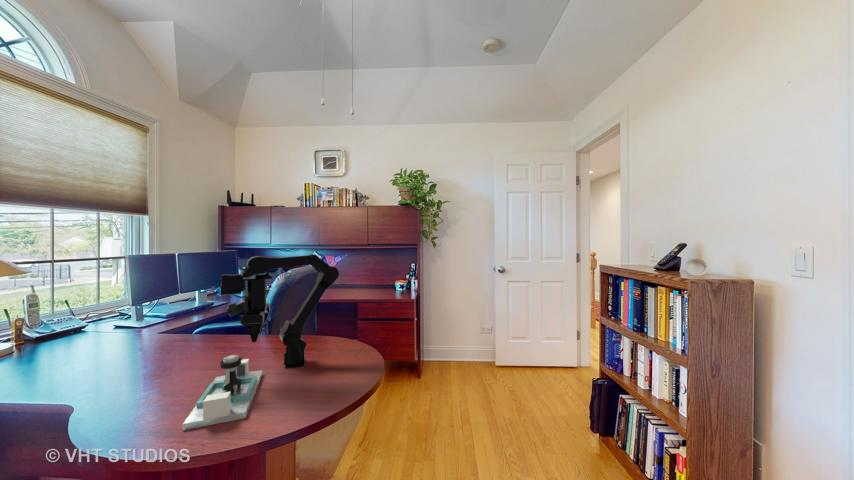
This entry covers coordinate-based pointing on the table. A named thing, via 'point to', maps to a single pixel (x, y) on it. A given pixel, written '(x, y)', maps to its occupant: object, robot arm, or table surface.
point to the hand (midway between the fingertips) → (256, 337)
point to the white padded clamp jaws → (222, 397)
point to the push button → (231, 373)
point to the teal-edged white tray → (238, 401)
